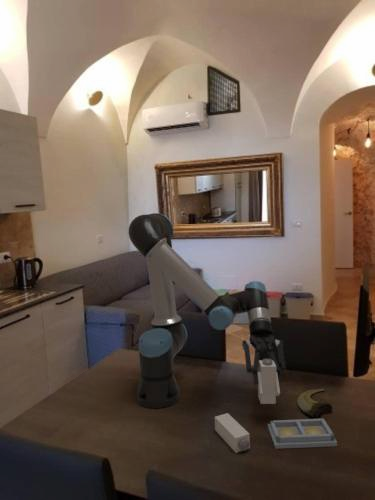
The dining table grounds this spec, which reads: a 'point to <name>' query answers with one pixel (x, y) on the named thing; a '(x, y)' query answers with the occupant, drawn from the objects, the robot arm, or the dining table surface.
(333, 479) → the dining table surface
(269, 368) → the white square bottle
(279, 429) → the tray
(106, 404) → the dining table surface
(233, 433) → the white rectangular block
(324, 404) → the claw
